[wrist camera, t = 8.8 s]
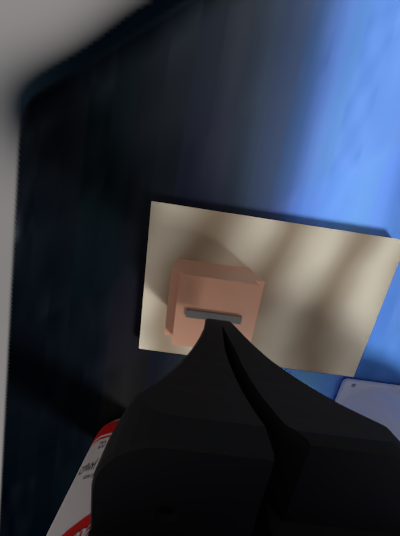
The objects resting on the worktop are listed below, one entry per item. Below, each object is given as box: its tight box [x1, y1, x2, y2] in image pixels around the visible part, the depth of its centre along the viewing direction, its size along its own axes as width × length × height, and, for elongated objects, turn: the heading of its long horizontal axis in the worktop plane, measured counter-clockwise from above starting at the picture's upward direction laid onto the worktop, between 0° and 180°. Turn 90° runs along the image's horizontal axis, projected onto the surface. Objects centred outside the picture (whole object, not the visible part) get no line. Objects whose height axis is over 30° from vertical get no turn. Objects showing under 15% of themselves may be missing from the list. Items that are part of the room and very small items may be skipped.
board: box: [139, 201, 400, 377], centre depth 16 cm, size 22×14×4 cm, turn 82°
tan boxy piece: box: [164, 259, 265, 347], centre depth 15 cm, size 6×5×5 cm
